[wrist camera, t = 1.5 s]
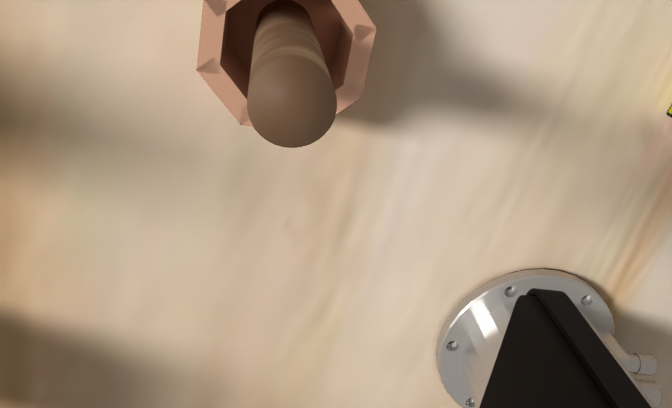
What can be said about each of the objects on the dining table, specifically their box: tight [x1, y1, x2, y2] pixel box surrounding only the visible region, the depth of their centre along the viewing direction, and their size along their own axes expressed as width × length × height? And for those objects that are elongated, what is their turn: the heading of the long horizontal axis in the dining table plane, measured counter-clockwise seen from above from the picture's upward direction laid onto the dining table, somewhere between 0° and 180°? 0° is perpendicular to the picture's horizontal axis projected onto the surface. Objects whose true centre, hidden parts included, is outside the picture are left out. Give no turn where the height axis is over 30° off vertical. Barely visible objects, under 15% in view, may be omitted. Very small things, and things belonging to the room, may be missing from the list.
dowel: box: [247, 0, 337, 148], centre depth 27 cm, size 3×3×14 cm
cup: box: [196, 0, 377, 127], centre depth 32 cm, size 8×8×6 cm
